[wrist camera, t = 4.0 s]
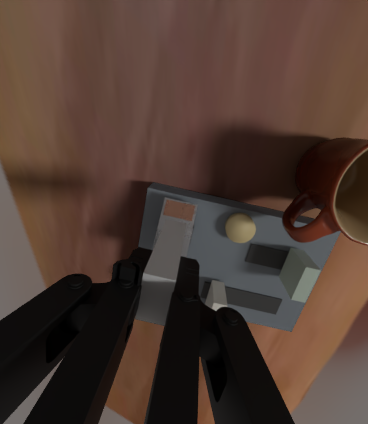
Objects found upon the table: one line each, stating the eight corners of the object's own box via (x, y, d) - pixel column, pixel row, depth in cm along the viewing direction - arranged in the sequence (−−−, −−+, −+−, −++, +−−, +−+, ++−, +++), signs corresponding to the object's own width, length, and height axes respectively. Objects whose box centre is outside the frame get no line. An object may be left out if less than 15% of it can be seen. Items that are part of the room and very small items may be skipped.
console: (153, 182, 28) (144, 190, 24) (326, 221, 28) (348, 237, 24) (136, 281, 33) (126, 303, 29) (283, 314, 33) (295, 341, 29)
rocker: (165, 199, 25) (164, 196, 23) (196, 206, 25) (197, 204, 23) (148, 272, 24) (146, 275, 22) (180, 279, 24) (180, 283, 22)
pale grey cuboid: (212, 279, 28) (213, 302, 24) (224, 282, 28) (227, 305, 24) (204, 305, 29) (204, 330, 26) (215, 307, 29) (217, 333, 26)
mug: (344, 113, 24) (438, 100, 15) (378, 179, 26) (482, 206, 16) (246, 180, 27) (271, 206, 18) (284, 234, 29) (324, 284, 20)
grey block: (290, 247, 26) (306, 267, 22) (303, 250, 26) (321, 270, 22) (278, 276, 27) (291, 299, 23) (290, 279, 27) (305, 302, 23)
